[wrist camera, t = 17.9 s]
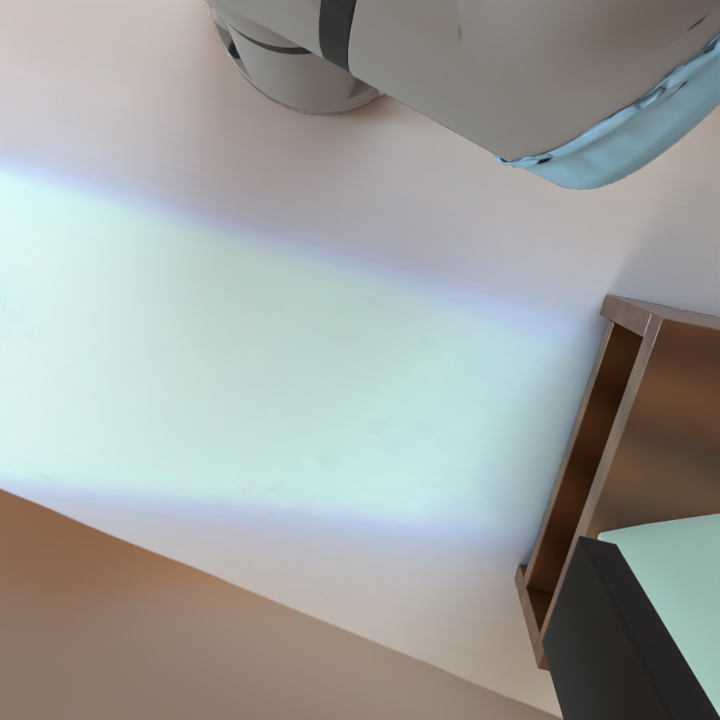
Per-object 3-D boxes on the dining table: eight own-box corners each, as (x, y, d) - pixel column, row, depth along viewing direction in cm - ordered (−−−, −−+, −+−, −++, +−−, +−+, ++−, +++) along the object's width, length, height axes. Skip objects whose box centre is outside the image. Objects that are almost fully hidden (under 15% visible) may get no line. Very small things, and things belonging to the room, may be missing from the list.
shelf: (606, 293, 41) (662, 317, 32) (739, 321, 41) (837, 353, 31) (514, 578, 48) (537, 668, 39) (626, 605, 48) (678, 703, 38)
